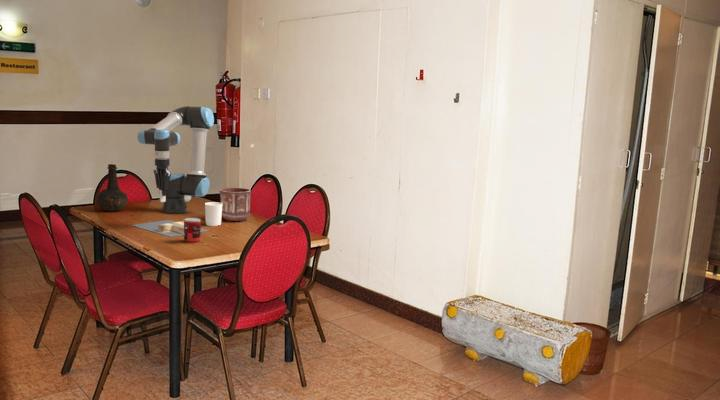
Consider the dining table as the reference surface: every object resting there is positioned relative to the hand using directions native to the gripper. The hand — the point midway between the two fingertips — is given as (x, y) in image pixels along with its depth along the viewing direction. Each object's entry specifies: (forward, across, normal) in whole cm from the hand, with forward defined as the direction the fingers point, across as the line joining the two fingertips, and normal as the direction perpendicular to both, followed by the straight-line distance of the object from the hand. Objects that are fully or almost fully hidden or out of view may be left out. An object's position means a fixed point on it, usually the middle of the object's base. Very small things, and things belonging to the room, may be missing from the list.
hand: (162, 201), depth 332 cm
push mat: (+13, +8, -1) cm, 15 cm away
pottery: (+15, +11, +41) cm, 45 cm away
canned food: (+13, +39, -10) cm, 42 cm away
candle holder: (+14, +14, +23) cm, 30 cm away
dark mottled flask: (+15, -55, +2) cm, 57 cm away
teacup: (+16, -56, +54) cm, 79 cm away
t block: (+13, +17, -1) cm, 21 cm away
